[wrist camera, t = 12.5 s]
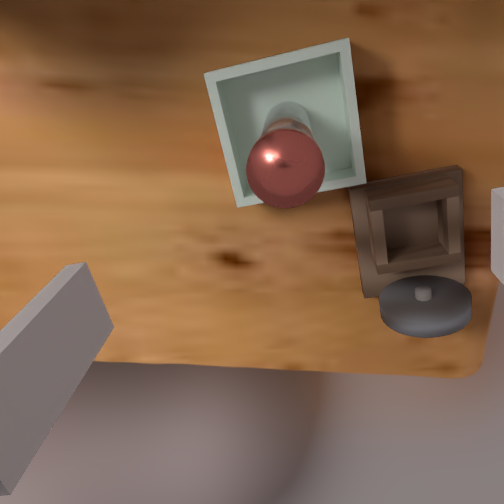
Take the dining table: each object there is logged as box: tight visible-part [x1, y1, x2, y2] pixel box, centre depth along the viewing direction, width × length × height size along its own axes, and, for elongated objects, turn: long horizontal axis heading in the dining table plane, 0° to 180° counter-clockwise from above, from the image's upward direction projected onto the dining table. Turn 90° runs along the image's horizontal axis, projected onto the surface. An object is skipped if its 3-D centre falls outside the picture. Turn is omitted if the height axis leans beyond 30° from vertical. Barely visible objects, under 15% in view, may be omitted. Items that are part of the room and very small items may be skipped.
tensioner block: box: [348, 165, 472, 338], centre depth 39 cm, size 13×10×10 cm
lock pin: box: [246, 101, 325, 208], centre depth 32 cm, size 5×5×15 cm
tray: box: [204, 38, 367, 208], centre depth 38 cm, size 12×12×4 cm
